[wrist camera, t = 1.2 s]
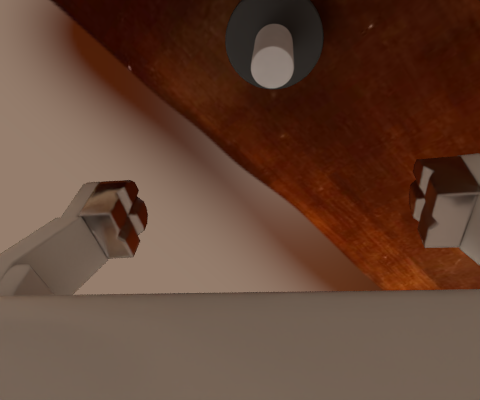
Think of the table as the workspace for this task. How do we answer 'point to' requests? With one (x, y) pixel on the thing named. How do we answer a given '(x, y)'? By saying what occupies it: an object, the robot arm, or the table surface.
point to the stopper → (274, 41)
